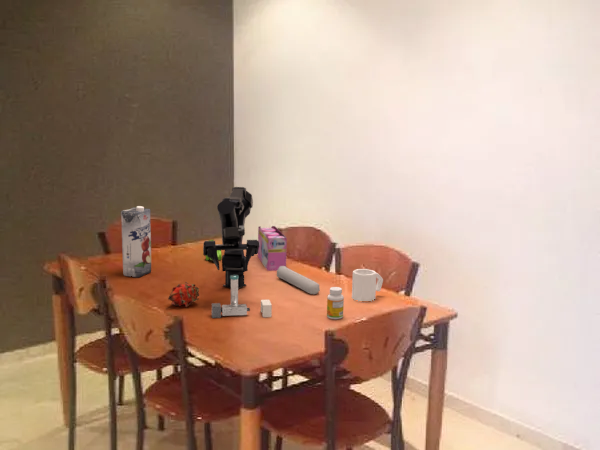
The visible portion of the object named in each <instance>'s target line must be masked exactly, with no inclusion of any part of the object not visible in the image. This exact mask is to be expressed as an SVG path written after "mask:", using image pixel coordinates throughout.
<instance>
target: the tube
mask: <svg viewBox="0 0 600 450" xmlns="http://www.w3.org/2000/svg"><path fill="white" fill-rule="evenodd" d="M276 277H277V278H278V279H281V280H283V281H285V282H287V283H289V284H291V286H295V287H297V288H298V289H301V290H302V291H304V292H306V293H308V294H310V295H312V294H313V295H317V294H318V293H319V292H320V290H321V289H320V283H318V282H316V281H314V280H313V279H310V278H309V277H306V276H304V275H303V274H300V273H299V272H296V271H294V270H292V269H291V268H288V267H287V265H286V266H280V267H279V269H278V270H276Z"/></svg>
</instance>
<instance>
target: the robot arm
mask: <svg viewBox="0 0 600 450" xmlns="http://www.w3.org/2000/svg"><path fill="white" fill-rule="evenodd" d="M253 205H254V200H253V194H252V193H250V192H249V191H248V190H247V187H243V186H234V187H232V189H231V193H230V194H229V196H225V197H223V198H222V200H221V201H220V202H219V203H218V204H217V212H218V217H219V220H220V229H221V230H220V231H221V242H222V243H221V244H218V243H217V244H216V240H214V241H209V240H204V242H203V246H202V248H203V249H202V250H203V251H202V252H203V253H202V254H203V256H205V257H206V256H207V257H210V258H211V259H212V260H211V261H212V262H213V263H214V265H215V267H216V269H217V270H218V271H220V262H219V261H220V260H218V255H217V250H221V251H223V255H222V258H221V267H222V268H221V269H222V271H221V272H225V273H224V274H225V276H224V277H225V283H224V284H222V287H223V288H226V289H227V288H228V289H231V279H230V276H231V275H238V276H239V278H238V289H241V288H244V287H247V284H246V283H245V272H248V271H249V268H248V267H249V262H250V261H251V258H252V257H254V256H255V255H258V250H259V241H258V239H247V240H246V243H243V239H244V236H245V234H246V232H245V231H246V230H245V223H246V222H245V221H246V218H247V217H248V216H249V215H250V214H251V210H252V208H253ZM210 258H209V259H210Z"/></svg>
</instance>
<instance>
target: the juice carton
mask: <svg viewBox="0 0 600 450" xmlns="http://www.w3.org/2000/svg"><path fill="white" fill-rule="evenodd" d="M120 217H121V218H120V219H121V247H122V249H121V250H122V253H121V254H122V271H123V272H122V273H123V276H124V277H131V276H132V277H133V278H141V277H143V276H145V274H146V275H148V274H150V273H152V242H151V241H152V237H151V236H152V234H151V233H152V232H151V229H152V227H151V208H145V207H144V206H141V205H137V206H136V207H130V209H123V210H121V211H120Z"/></svg>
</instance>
